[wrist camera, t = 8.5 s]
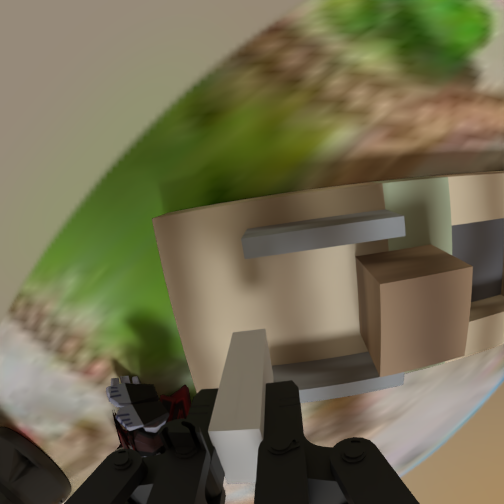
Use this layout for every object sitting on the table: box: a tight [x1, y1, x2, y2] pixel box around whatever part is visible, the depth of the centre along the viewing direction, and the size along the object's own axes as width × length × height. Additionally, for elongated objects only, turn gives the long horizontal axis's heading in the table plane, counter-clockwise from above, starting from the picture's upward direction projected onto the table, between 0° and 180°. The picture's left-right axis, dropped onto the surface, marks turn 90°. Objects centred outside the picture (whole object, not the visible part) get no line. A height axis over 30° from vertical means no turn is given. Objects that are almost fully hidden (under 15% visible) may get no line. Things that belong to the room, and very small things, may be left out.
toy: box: [106, 376, 191, 457], centre depth 22 cm, size 12×9×15 cm
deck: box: [152, 171, 504, 403], centre depth 18 cm, size 26×13×6 cm, turn 100°
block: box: [355, 244, 473, 377], centre depth 16 cm, size 5×5×5 cm
